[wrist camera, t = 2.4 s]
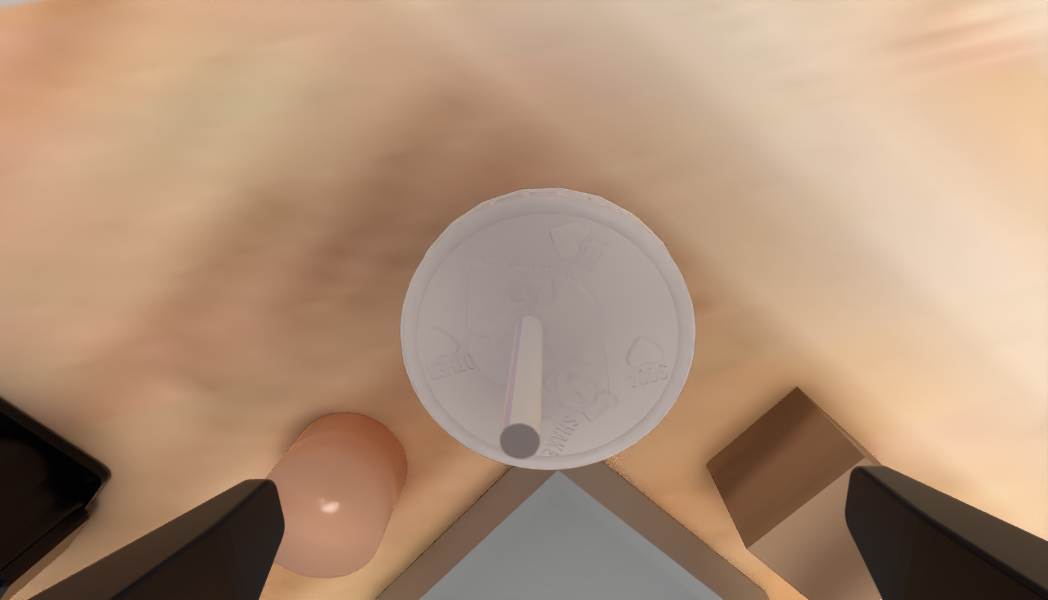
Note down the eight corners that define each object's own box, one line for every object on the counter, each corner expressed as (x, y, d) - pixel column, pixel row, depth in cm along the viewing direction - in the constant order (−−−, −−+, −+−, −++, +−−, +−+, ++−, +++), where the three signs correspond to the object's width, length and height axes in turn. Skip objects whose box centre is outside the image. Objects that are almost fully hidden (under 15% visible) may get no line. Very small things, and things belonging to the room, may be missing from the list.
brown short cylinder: (274, 464, 24) (223, 527, 20) (338, 390, 23) (296, 443, 19) (364, 527, 25) (331, 599, 21) (429, 459, 24) (407, 522, 20)
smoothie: (557, 124, 19) (584, 114, 6) (664, 258, 20) (886, 500, 7) (428, 238, 21) (213, 439, 7) (536, 356, 22) (521, 711, 9)
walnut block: (705, 463, 23) (746, 549, 18) (796, 386, 22) (865, 457, 17) (782, 527, 24) (841, 626, 19) (874, 457, 23) (960, 543, 18)
